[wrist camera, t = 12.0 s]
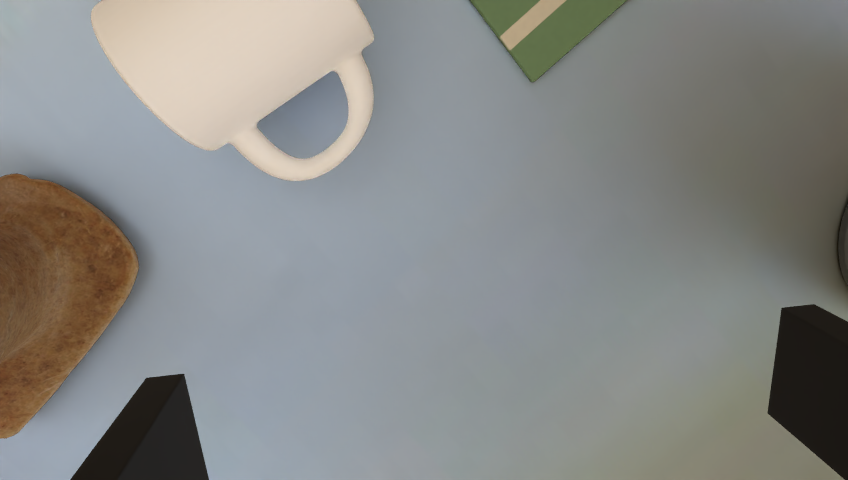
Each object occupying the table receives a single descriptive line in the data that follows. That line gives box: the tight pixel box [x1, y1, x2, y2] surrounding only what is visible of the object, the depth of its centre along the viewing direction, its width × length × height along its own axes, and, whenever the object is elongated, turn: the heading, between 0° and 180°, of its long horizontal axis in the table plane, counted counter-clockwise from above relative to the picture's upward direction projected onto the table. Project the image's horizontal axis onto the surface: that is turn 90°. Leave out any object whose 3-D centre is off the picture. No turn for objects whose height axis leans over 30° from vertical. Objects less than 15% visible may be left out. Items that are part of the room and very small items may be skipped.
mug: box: [91, 0, 374, 181], centre depth 26 cm, size 12×10×8 cm
